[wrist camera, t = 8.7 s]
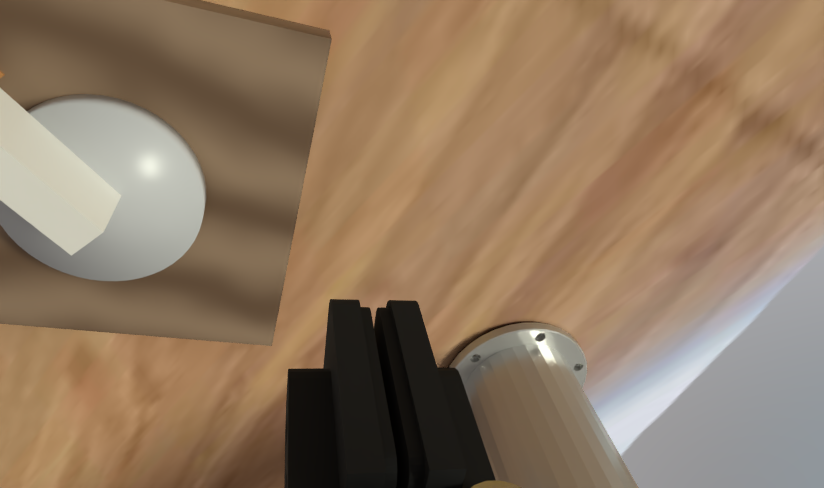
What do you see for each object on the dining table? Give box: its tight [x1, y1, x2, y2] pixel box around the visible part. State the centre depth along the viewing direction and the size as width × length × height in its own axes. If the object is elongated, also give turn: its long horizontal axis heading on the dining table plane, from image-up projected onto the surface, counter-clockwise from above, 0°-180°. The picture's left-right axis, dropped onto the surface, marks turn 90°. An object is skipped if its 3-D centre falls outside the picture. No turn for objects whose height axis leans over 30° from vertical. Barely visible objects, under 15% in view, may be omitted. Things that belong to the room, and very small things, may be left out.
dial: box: [0, 88, 206, 281], centre depth 31 cm, size 18×11×6 cm, turn 33°
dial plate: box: [0, 0, 332, 346], centre depth 36 cm, size 22×22×2 cm
